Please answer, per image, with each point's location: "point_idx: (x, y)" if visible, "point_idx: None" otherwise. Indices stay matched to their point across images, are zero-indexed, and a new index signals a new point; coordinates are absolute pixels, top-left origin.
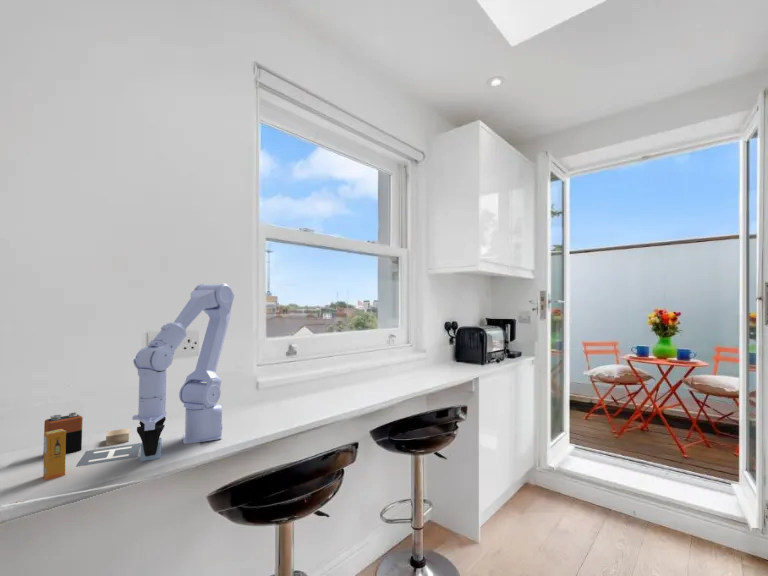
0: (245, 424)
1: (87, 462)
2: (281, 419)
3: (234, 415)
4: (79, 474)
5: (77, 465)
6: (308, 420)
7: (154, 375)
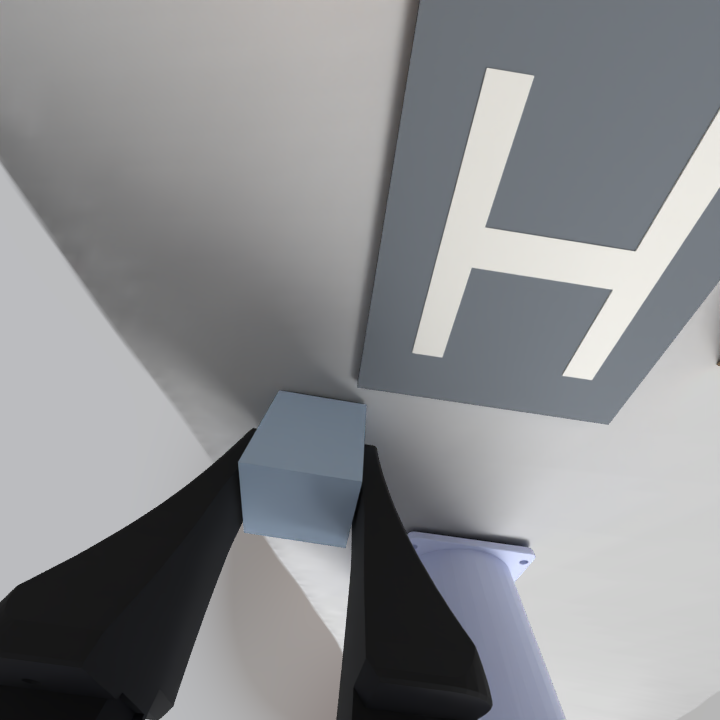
0: None
1: (483, 64)
2: None
3: (625, 658)
4: (251, 14)
5: None
6: None
7: None
